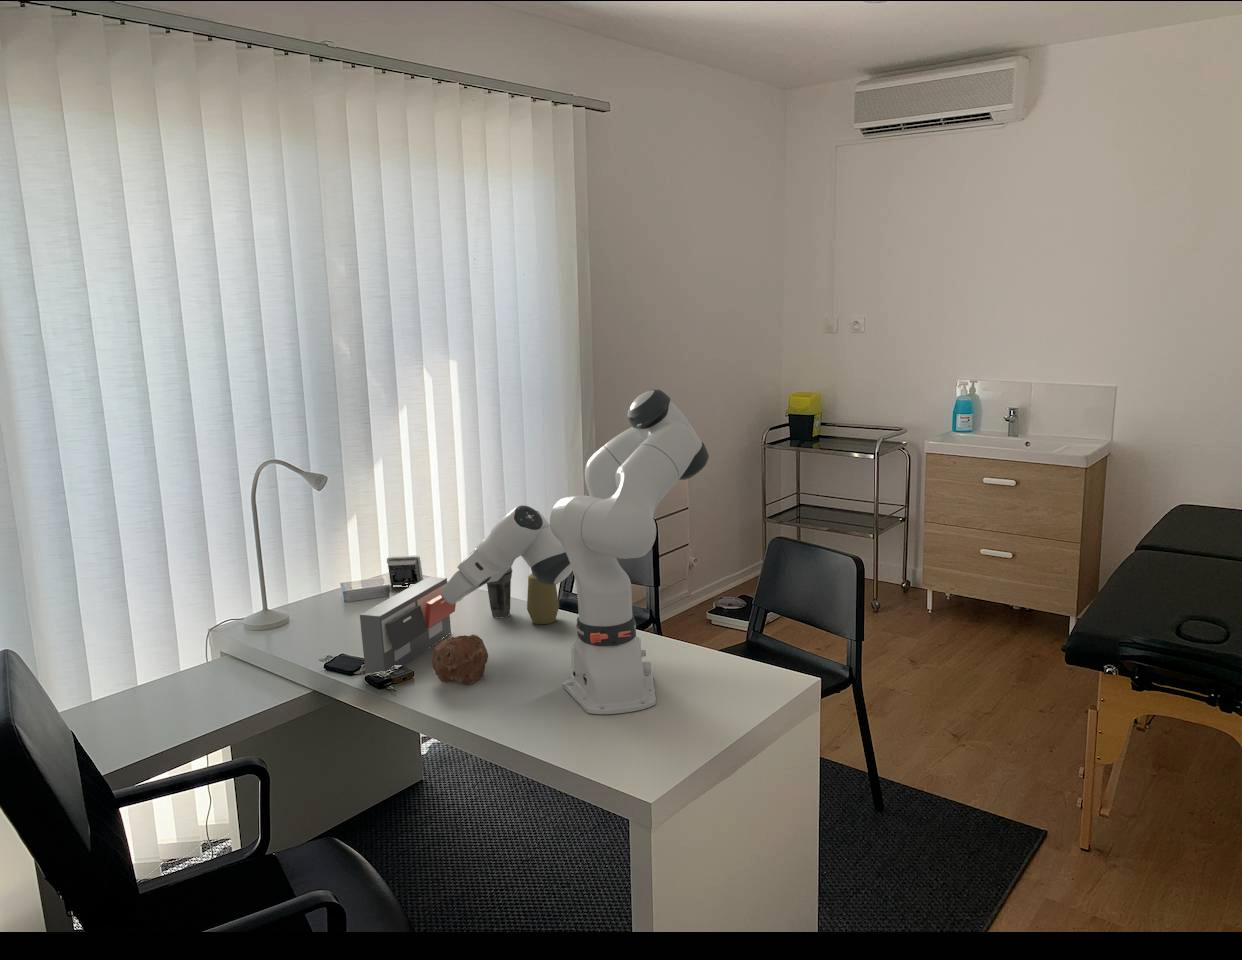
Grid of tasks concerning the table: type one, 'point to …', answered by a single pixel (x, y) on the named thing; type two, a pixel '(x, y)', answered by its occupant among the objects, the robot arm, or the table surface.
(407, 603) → the switch panel
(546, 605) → the squeeze bottle
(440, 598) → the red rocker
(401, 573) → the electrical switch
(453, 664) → the decorative rock
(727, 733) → the table surface
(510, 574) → the beverage cup
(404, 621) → the panel
